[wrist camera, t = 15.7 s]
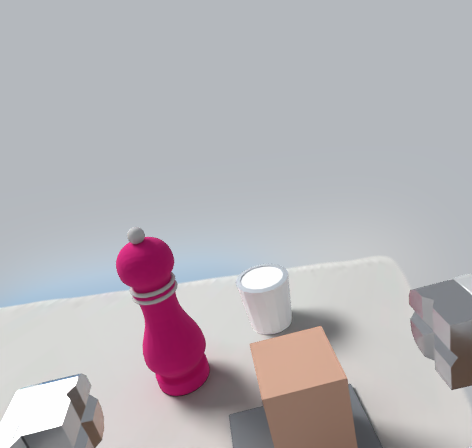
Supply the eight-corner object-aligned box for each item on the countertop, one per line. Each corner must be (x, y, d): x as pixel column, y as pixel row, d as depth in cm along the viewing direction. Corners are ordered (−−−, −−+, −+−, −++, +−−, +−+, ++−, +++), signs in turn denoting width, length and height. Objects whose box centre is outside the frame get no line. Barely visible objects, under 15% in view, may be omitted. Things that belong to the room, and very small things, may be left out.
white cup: (273, 344, 53) (263, 298, 50) (236, 326, 58) (224, 283, 55) (307, 314, 57) (299, 270, 54) (269, 300, 61) (260, 258, 59)
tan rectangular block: (284, 487, 36) (261, 399, 32) (270, 423, 42) (249, 343, 38) (360, 467, 36) (347, 378, 32) (334, 406, 42) (321, 325, 38)
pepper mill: (211, 349, 54) (168, 207, 47) (216, 390, 48) (167, 233, 40) (156, 363, 54) (104, 223, 46) (153, 407, 47) (91, 252, 40)
